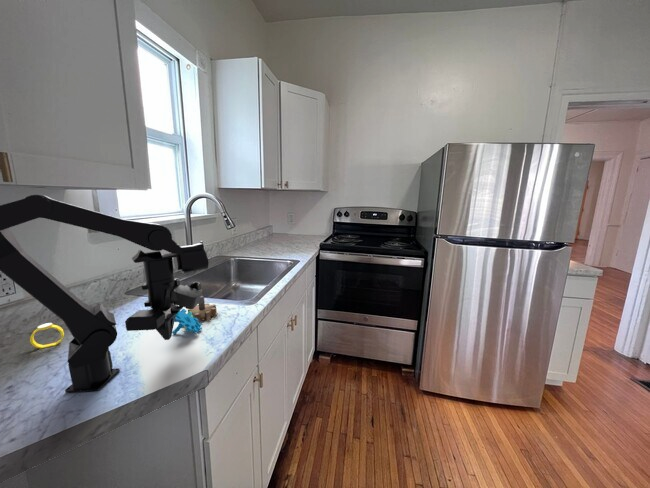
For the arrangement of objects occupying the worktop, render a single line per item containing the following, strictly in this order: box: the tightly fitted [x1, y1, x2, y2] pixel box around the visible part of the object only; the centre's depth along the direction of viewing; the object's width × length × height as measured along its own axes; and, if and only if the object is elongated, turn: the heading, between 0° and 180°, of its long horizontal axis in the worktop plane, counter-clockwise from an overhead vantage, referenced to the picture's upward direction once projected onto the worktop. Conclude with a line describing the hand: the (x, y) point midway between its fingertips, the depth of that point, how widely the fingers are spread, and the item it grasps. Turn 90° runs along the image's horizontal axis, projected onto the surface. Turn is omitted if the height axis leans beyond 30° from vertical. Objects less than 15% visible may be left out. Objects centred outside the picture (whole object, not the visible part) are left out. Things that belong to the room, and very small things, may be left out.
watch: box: [29, 322, 65, 350], centre depth 69 cm, size 6×3×6 cm, turn 125°
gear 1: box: [172, 308, 202, 336], centre depth 76 cm, size 11×6×10 cm
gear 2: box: [187, 295, 218, 323], centre depth 85 cm, size 9×9×6 cm
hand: (167, 339), depth 64 cm, fingers closed
